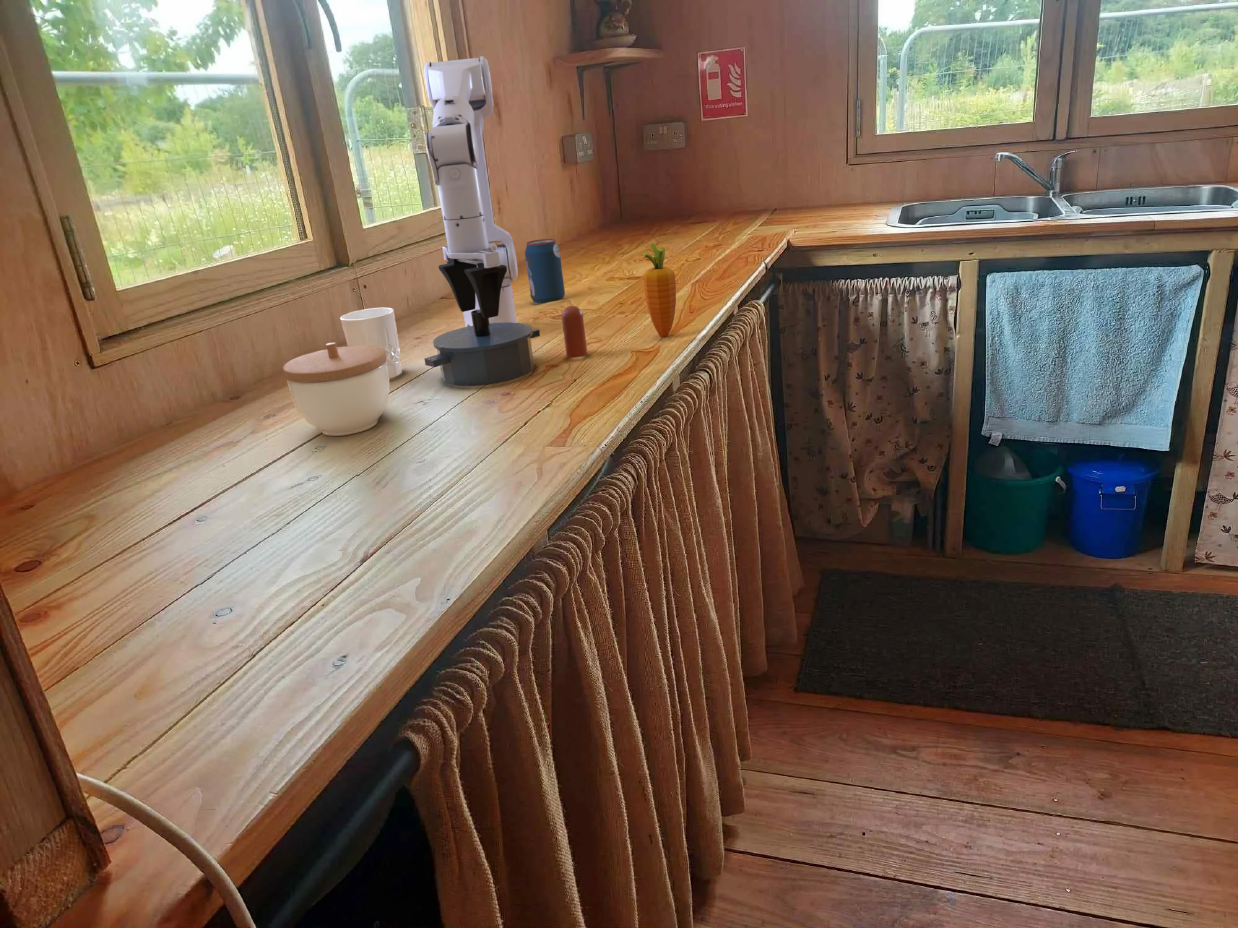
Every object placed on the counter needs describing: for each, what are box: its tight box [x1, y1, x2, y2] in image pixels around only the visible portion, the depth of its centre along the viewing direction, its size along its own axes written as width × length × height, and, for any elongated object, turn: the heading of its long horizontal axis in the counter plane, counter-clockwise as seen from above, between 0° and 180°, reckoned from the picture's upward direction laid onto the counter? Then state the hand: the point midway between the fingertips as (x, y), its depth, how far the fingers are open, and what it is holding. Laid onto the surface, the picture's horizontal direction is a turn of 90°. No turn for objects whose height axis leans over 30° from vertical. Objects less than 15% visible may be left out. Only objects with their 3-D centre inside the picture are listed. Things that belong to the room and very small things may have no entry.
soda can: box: [524, 238, 566, 306], centre depth 174 cm, size 7×7×12 cm
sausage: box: [561, 305, 588, 358], centre depth 132 cm, size 3×3×8 cm
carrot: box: [642, 242, 677, 339], centre depth 136 cm, size 5×5×15 cm
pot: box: [424, 328, 541, 387], centre depth 129 cm, size 13×19×6 cm
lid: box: [432, 309, 533, 352], centre depth 127 cm, size 14×14×5 cm
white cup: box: [339, 307, 403, 379], centre depth 132 cm, size 8×8×10 cm
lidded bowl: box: [282, 341, 390, 437], centre depth 111 cm, size 13×13×11 cm
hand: (479, 313), depth 126 cm, fingers open, 7 cm apart
